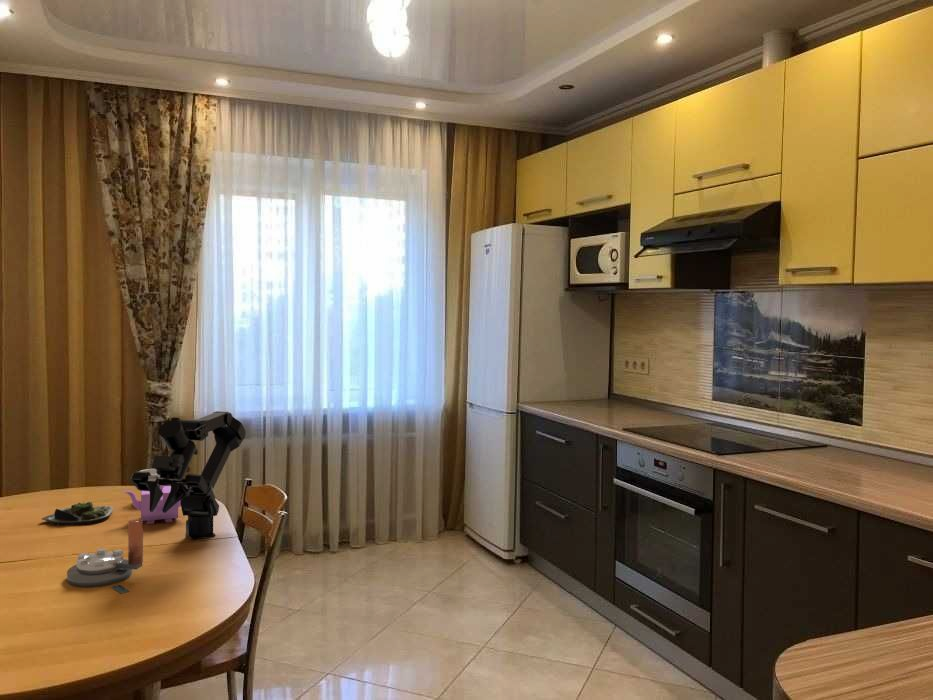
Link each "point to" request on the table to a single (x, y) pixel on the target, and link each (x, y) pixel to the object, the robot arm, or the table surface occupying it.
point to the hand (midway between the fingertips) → (157, 511)
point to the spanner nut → (115, 554)
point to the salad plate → (79, 514)
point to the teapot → (157, 512)
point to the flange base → (98, 578)
